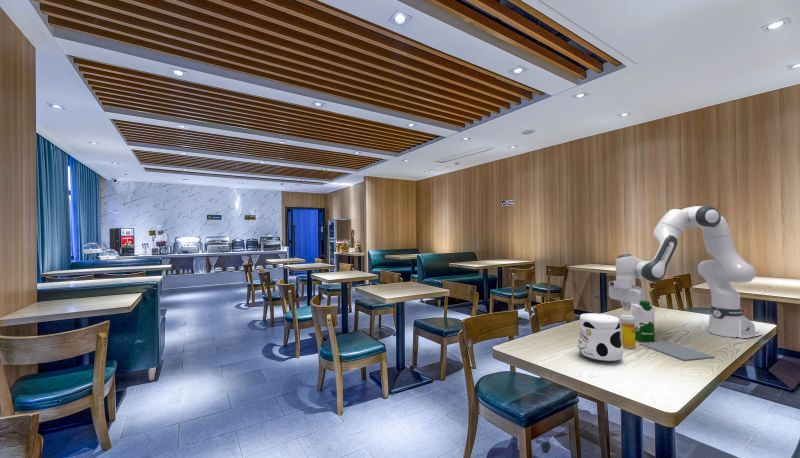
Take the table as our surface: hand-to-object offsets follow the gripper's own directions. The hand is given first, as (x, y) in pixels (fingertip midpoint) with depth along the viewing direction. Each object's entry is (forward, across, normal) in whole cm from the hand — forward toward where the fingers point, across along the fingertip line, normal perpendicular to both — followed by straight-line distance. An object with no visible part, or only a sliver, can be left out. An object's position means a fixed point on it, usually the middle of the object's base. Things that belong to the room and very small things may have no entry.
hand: (626, 310), depth 184 cm
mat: (+13, -26, 0) cm, 29 cm away
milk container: (+13, -26, +39) cm, 49 cm away
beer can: (+13, -17, +16) cm, 27 cm away
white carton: (+13, -10, 0) cm, 17 cm away
